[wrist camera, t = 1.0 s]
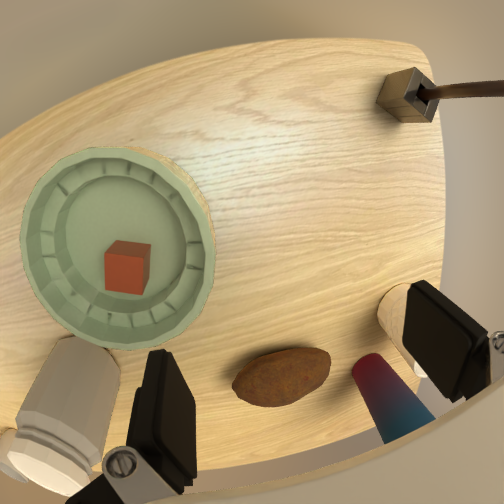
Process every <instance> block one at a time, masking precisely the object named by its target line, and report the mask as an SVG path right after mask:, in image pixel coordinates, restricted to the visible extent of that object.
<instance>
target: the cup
mask: <svg viewBox="0 0 504 504" xmlns="http://www.w3.org/2000/svg"><path fill="white" fill-rule="evenodd" d="M352 376H353V378H354V380H355V382H356V384H357V386H358V388H359V390H360V392H361V395H362V397H363V399H364V401H365V403H366V405H367V407H368V409H369V412H370V414H371V416H372V418H373V420H374V422H375V424H376V427H377V429H378V431H379V433H380V435H381V437H382V440H383V442H384V444H387V443H390V442H392V441H394V440H396V439H398V438H401V437H403V436H405V435H407V434H409V433H411V432H413V431H415V430H417V429H419V428H421V427H422V426H424V425H426V424H428V423H430V422H432V421H434V420H435V419H436V418H435V417H434V416H433V415H432V414H431V413H430V412H429V410H428V409H427V408H426V407H425V406H424V405H423V403H422V402H421V401H420V400H419V399H418V397H417V396H416V395H415V394H414V393H413V392H412V390H411V389H410V388H409V387H408V386H407V385H406V384H405V382H404V381H403V380H402V379H401V378H400V377H399V376H398V374H397V373H396V372H395V371H394V370H393V369H392V368H391V366H390V365H389V364H388V363H387V362H386V361H385V360H384V358H383V357H382V356H381V355H380V354H376V353H373V354H369V355H366V356H364V357H363V358H361V359H360V360H359V361H358V362H357V363H356V364H355V366H354V367H353V370H352Z"/></svg>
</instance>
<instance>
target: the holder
mask: <svg viewBox="0 0 504 504" xmlns="http://www.w3.org/2000/svg"><path fill="white" fill-rule="evenodd" d="M429 87H436V85H434V83H432V82H431V81H430V80H429V79H428V78H427V77H426V76H425V75H423V73H421V72H420V71H419V70H418V69H417V68H416V67H413V68H409V69H406V70H402V71H399V72H395V73H392V74H388V75H387V77H386V80H385V82H384V84H383V87H382V89H381V91H380V94H379V96H378V98H377V101H376V103H377V104H378V105H379V106H381V107H382V108H384V109H385V110H386V111H388V112H389V113H390V114H391V115H393V116H394V117H395V118H397V119H398V120H399V121H401V122H402V123H431V122H432V120H433V117H434V114H435V112H436V109H437V106H438V103H439V100H440V99H437V100H426V101H421V100H420V99H419V98H418V97H416V94H417V91H418V89H423V88H429Z"/></svg>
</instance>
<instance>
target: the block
mask: <svg viewBox="0 0 504 504" xmlns="http://www.w3.org/2000/svg"><path fill="white" fill-rule="evenodd" d="M150 254H151V244H144V243H136V242H128V241H120V240H116V241H115V242H114V243H113V244H112V245H111V246H110V247H109V248H108V249H107V250H106V252H105V253H104V271H105V290H108V291H115V292H121V293H128V294H135V295H143V293H144V290H145V288H146V285H147V283H148V280H149V274H150Z"/></svg>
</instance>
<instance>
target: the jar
mask: <svg viewBox="0 0 504 504" xmlns="http://www.w3.org/2000/svg"><path fill="white" fill-rule="evenodd" d="M119 386H120V369H119V368H118V366H117V364H116V363H115V361H114V360H113V358H112V357H111V355H110V354H109V352H108V351H107V350H105V349H104V348H103V347H100V346H98V345H96V344H93V343H91V342H88V341H86V340H84V339H81V338H79V337H76V336H73V337H69V338H64V339H59V341H58V342H57V344H56V345H55V347H54V348H53V350H52V351H51V353H50V355H49V356H48V358H47V360H46V362H45V363H44V365H43V367H42V369H41V370H40V372H39V374H38V376H37V377H36V379H35V381H34V383H33V385H32V387H31V389H30V390H29V392H28V394H27V396H26V398H25V400H24V402H23V404H22V406H21V408H20V410H19V412H18V414H17V416H16V418H15V420H16V423H17V427H18V430H17V432H16V434H15V437H16V438H15V439H14V440H13V442H12V444H11V446H10V449H9V451H8V454H7V457H8V458H9V460H10V461H11V463H12V464H13V465H14V467H15V468H16V469H17V470H19V471H20V472H21V473H22V474H23V475H25V476H26V477H27V478H29V479H30V480H32V481H34V482H35V483H37V484H39V485H41V486H42V487H44V488H46V489H48V490H51V491H53V492H56V493H59V494H61V495H64V496H69V497H71V496H73V495H74V494H75V493H77V492H78V491H80V490H81V489H82V488H84V487H85V486H87V485H88V484H89V483H90V480H89V477H88V476H89V475H91V474H92V469H91V467H92V466H94V465H96V464H97V463H99V462H101V461H102V456H103V451H104V446H105V442H106V437H107V433H108V429H109V424H110V420H111V416H112V412H113V408H114V405H115V401H116V397H117V393H118V390H119Z"/></svg>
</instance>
